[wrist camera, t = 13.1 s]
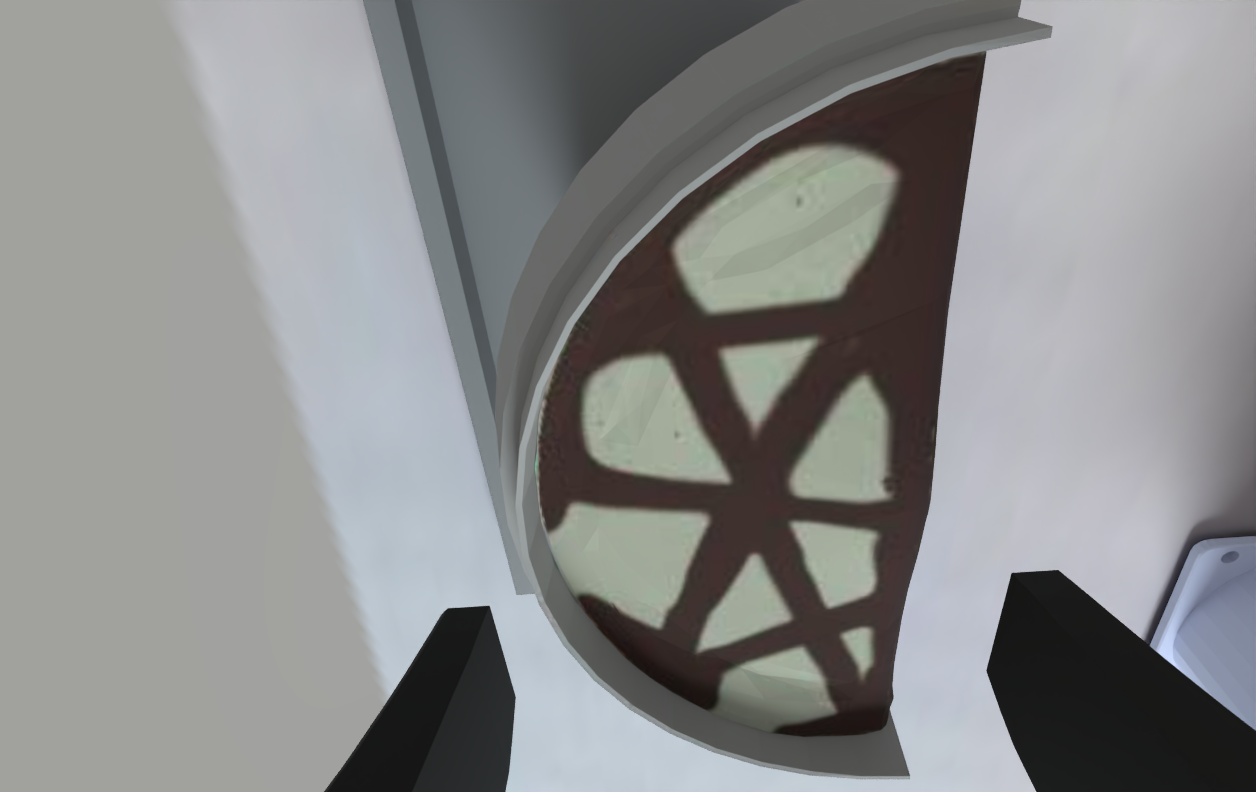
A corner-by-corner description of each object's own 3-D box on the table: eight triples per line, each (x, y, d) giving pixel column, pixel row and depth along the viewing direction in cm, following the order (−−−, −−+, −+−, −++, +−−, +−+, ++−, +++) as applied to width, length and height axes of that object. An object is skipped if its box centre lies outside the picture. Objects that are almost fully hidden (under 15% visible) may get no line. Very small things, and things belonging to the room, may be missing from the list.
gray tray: (1000, -325, 12) (1045, -360, 11) (891, 532, 23) (908, 568, 21) (331, -234, 13) (297, -256, 12) (523, 558, 24) (516, 594, 22)
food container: (505, -10, 15) (326, 37, 6) (808, -45, 14) (1069, -48, 6) (584, 467, 21) (551, 815, 13) (793, 451, 21) (906, 797, 12)
